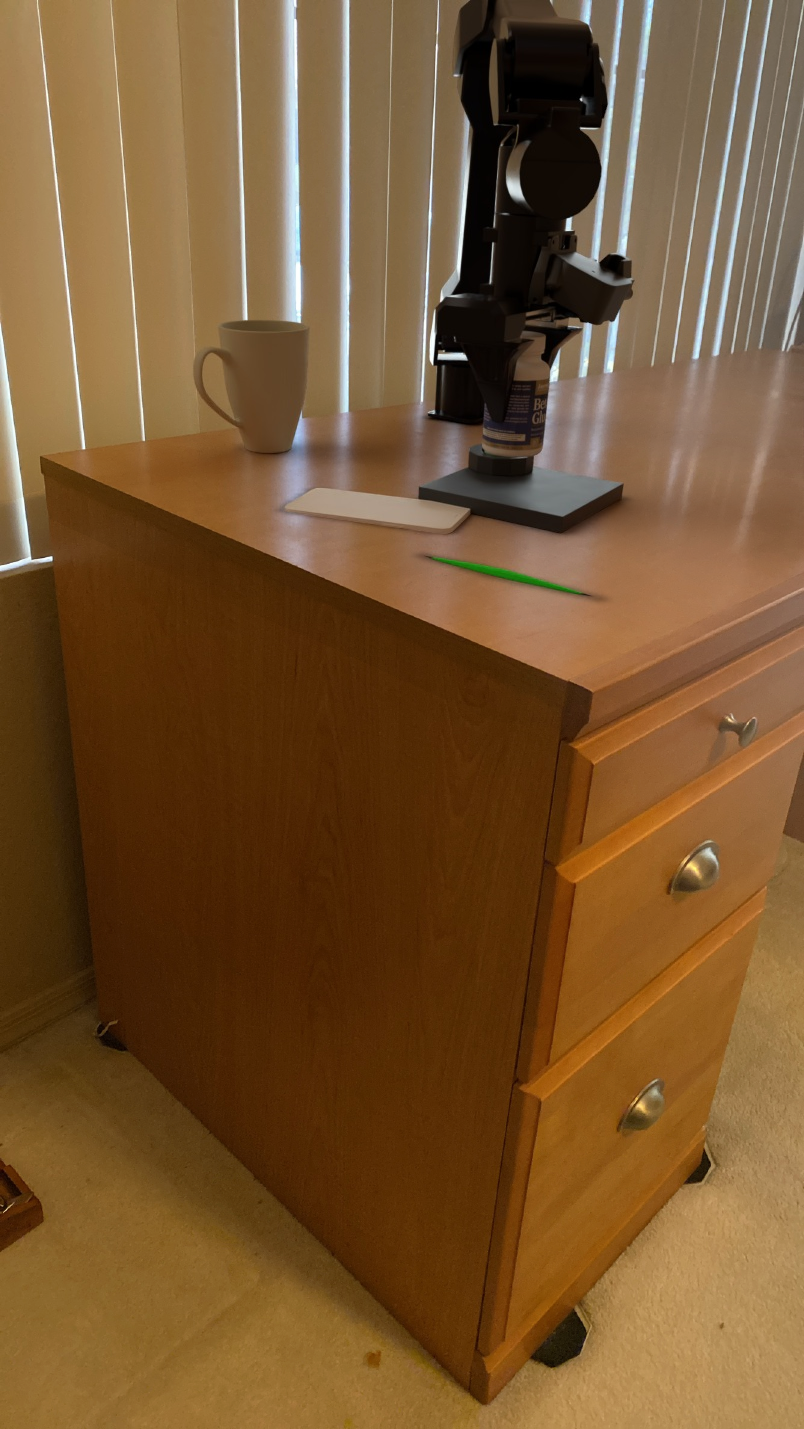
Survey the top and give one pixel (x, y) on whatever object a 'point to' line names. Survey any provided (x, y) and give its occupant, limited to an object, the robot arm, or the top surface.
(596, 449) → the top surface
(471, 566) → the green tapered stick
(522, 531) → the top surface
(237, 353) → the mug
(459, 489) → the scale
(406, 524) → the smartphone
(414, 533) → the top surface
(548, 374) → the pill bottle
